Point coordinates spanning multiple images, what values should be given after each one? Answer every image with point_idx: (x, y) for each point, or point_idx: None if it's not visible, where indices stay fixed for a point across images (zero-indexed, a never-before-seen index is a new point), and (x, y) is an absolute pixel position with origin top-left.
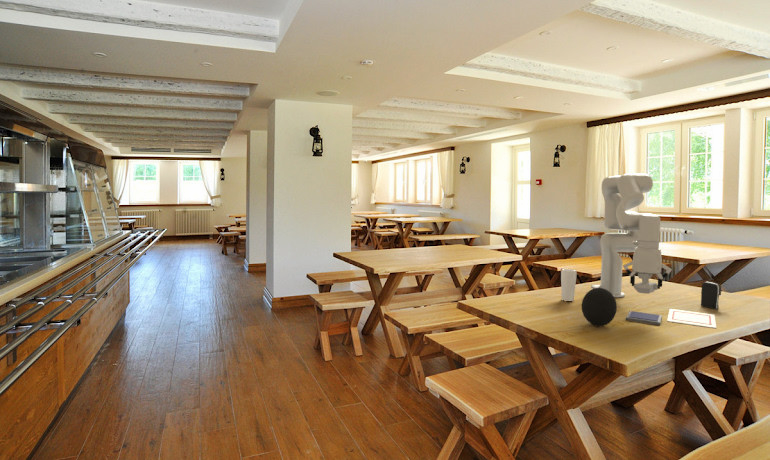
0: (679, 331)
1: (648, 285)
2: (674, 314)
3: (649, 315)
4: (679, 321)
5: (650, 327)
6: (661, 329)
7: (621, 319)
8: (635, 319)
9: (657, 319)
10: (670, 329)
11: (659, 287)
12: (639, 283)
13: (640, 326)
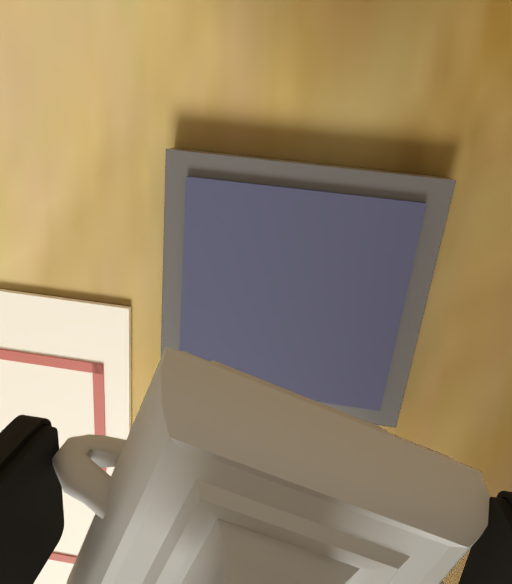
0: (29, 27)
1: (197, 419)
2: None
3: (247, 328)
4: (53, 326)
5: (247, 28)
6: (160, 9)
7: (482, 193)
8: (367, 170)
9: (186, 222)
10: (95, 56)
11: (5, 429)
12: (383, 574)
13: (331, 13)
